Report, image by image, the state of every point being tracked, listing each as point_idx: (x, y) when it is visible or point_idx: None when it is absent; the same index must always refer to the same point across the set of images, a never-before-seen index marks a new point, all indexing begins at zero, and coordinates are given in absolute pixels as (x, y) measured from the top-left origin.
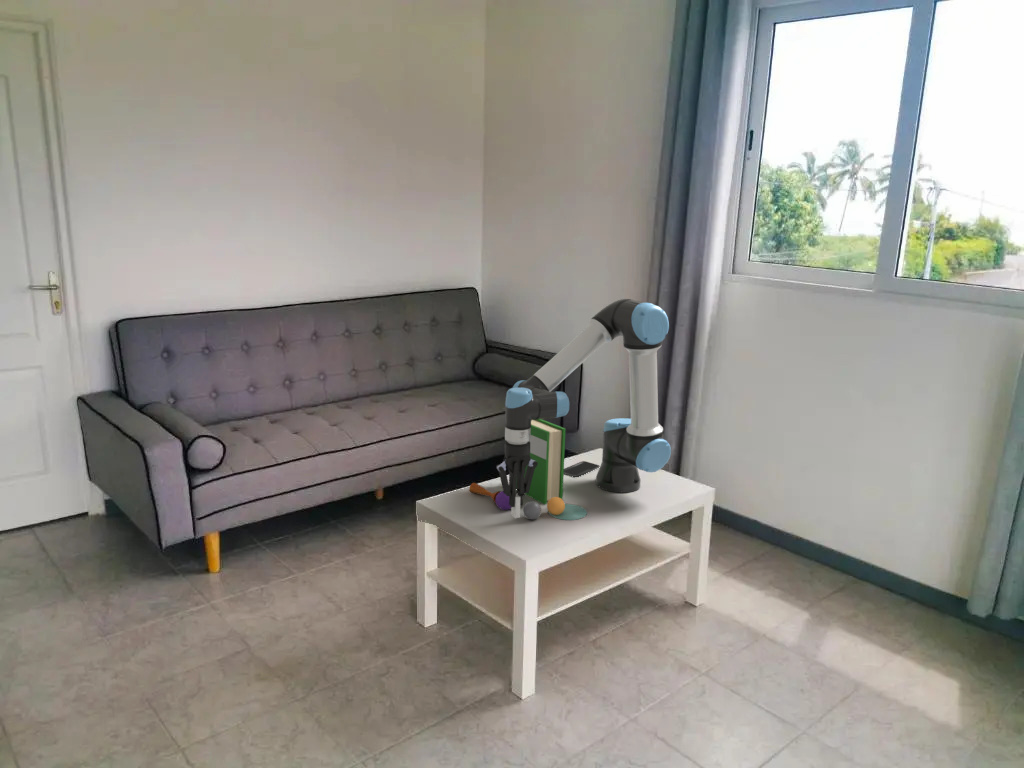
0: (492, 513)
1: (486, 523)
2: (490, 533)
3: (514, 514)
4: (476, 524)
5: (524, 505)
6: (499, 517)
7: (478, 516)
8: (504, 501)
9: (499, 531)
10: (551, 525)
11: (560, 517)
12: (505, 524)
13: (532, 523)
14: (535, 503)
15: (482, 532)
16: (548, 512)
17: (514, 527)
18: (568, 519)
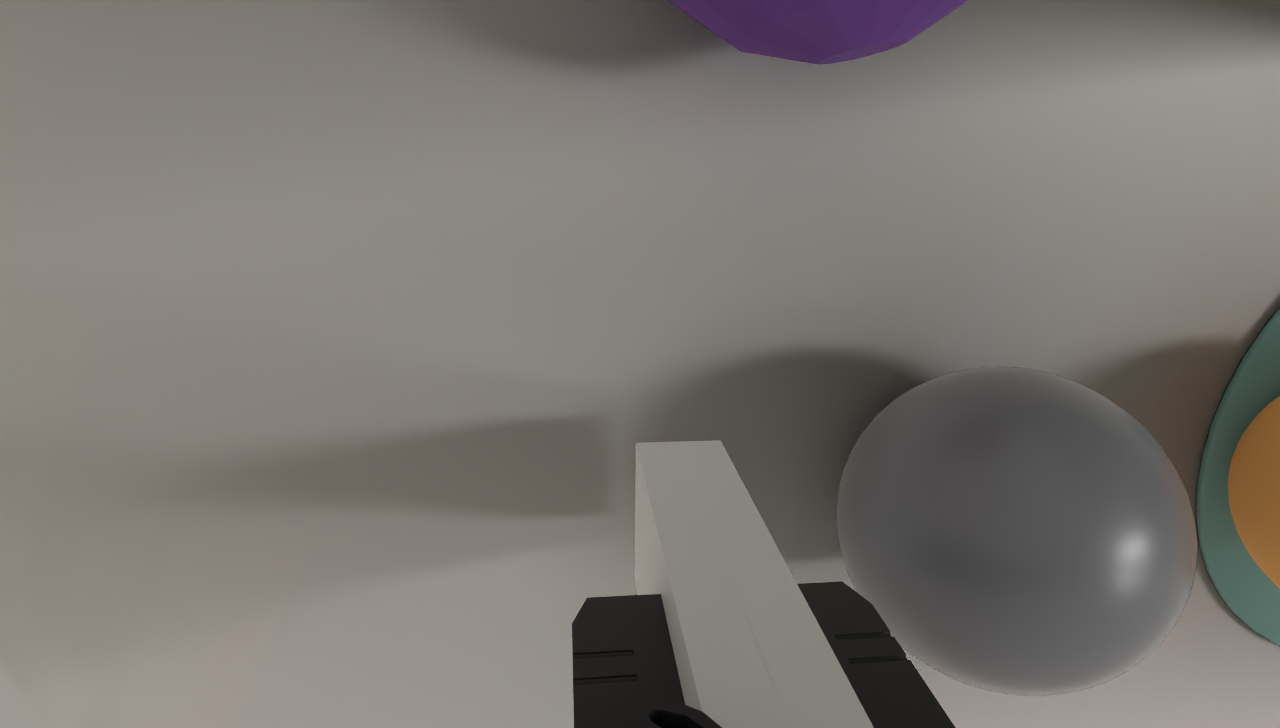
0: (453, 4)
1: (206, 356)
2: (166, 669)
3: (640, 572)
4: (19, 329)
5: (941, 496)
6: (503, 224)
7: (141, 18)
8: (725, 2)
9: (314, 654)
10: (1009, 698)
11: (1246, 571)
12: (486, 490)
13: (844, 582)
14: (1119, 669)
15: (53, 611)
16: (1242, 372)
17: (564, 612)
18: (1277, 644)
